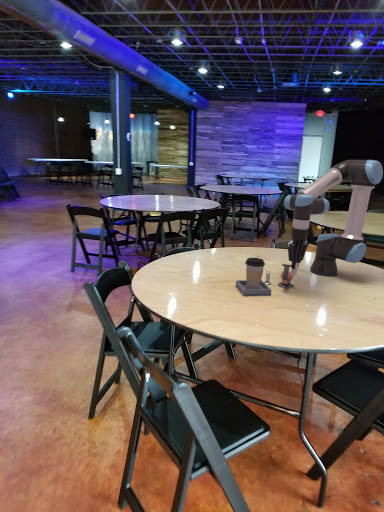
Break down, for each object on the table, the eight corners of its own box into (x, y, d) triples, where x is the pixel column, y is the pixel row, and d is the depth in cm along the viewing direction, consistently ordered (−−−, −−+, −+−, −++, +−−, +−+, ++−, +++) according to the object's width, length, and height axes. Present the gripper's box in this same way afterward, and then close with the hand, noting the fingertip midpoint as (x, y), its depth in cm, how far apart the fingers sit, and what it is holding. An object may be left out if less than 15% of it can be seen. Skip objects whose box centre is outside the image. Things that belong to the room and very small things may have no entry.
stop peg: (269, 282, 182) (270, 270, 180) (272, 284, 178) (273, 272, 176) (262, 282, 181) (263, 270, 179) (264, 284, 177) (266, 272, 176)
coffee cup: (262, 293, 163) (265, 263, 159) (242, 291, 165) (245, 261, 161) (262, 286, 172) (265, 258, 168) (243, 284, 174) (246, 256, 170)
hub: (289, 282, 182) (290, 275, 181) (296, 288, 174) (297, 280, 173) (275, 283, 181) (276, 275, 180) (281, 288, 173) (282, 281, 172)
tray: (261, 285, 176) (261, 280, 175) (270, 295, 163) (271, 289, 163) (235, 285, 174) (236, 280, 173) (243, 296, 161) (244, 290, 160)
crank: (281, 275, 180) (283, 257, 178) (293, 276, 178) (295, 259, 176) (278, 282, 168) (280, 264, 166) (290, 284, 166) (293, 266, 164)
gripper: (304, 225, 167) (297, 270, 174) (284, 227, 162) (278, 273, 168) (316, 228, 161) (308, 275, 168) (296, 230, 155) (289, 279, 162)
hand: (293, 274), depth 168 cm, fingers closed
